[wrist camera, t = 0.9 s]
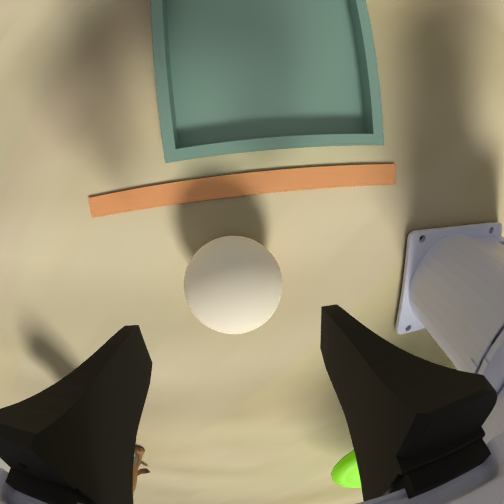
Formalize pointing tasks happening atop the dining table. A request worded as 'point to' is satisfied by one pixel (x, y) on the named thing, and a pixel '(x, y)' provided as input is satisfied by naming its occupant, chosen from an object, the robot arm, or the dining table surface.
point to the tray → (264, 75)
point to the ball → (233, 284)
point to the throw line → (242, 186)
